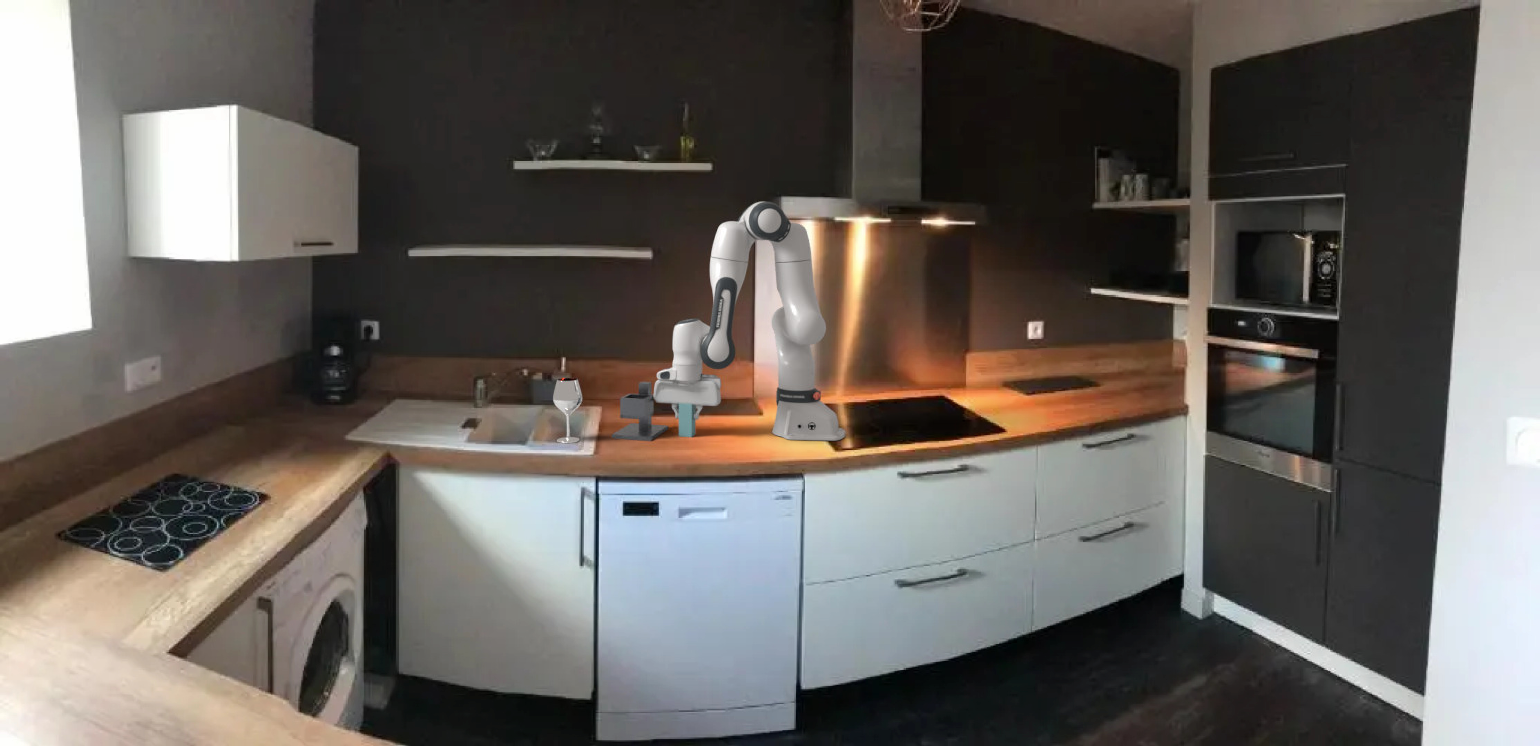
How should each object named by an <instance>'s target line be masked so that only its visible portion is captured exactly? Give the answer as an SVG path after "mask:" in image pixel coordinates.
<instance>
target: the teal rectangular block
mask: <svg viewBox="0 0 1540 746" xmlns="http://www.w3.org/2000/svg"><path fill="white" fill-rule="evenodd" d="M678 410H679V418H678V437H683V438H693V437H694V436H695V435H696V420H695V419H693V413H696V410H697V408H696V405H692V404H678Z"/></svg>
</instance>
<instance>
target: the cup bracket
mask: <svg viewBox="0 0 1540 746" xmlns="http://www.w3.org/2000/svg"><path fill="white" fill-rule="evenodd" d="M619 401H620V402H619V405H620V406H619V408H620V409H619V410H620V411H619V412H620V413H619V414H620V416H619V417H620V418H619V419H626V420H627V419H630V420H631V419H632V420H638V423H635V422H634V423H633V422H631V423H629V424H627V425H626V426H624V427H622V428H621V429H619V430H617V431H615V432H614V433H612V434H611V439H613V440H614V439H617V440H628V441H629V440H630V441H631V440H632V441H645V442H651V441H653V440H654V439H656V438H658V437H659V436H661V435H662V434H663V433H665V432H667V431H668V430H669V425H665V424H664V425H662V424H652V419H653V418H652V416H654V410H655V409H654V405H655V404H654V401H655V400H654V394H652V382H651V381H650V382H649V381H641V382H639V383H638V393H628V394H626V395H624V396H622V397H619Z"/></svg>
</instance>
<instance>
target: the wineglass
mask: <svg viewBox="0 0 1540 746" xmlns="http://www.w3.org/2000/svg"><path fill="white" fill-rule="evenodd" d="M555 383H556V384H555V386H554V390H553V397H552V400H553V404H554V405H555V406H556V408H557V409H559V411H561V413H563V414H564V415H565V416H566V436H565V437H560V438H557V440H556V441H557V442H558V443H562V444H573V443H577V442H580V438H579V437H576V436H575V437H574V436H571V431H570V425H571V424H570V423H571V422H570V421H571V420H570V419H571V418H570V417H571V415H572V414H573V413H574V411H576V410H577V409H578V408H579V407H580V405H581V404H582V402H583V394H582V390H581V387H580V383H579V379H578V378H575V377H562V378H557V379H556V382H555Z"/></svg>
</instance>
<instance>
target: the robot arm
mask: <svg viewBox="0 0 1540 746" xmlns="http://www.w3.org/2000/svg"><path fill="white" fill-rule="evenodd" d="M808 235H809V234H808V231H807V229H806V227H805V226H803V225H802V224H800V223H797V222H790V220H789V218H788V216H786V213H785V212H784V211H783V209H782V208H781V207H780V206H779V205H778V204H776V203H774V202H772V201H758V202H755V203H753V204H750V205H749V206H748V207H746V208H745V209H744V210H743V212H742V213H741V215H740V216H739V218H738V219H736V221H735V220H732V221H731V220H729V221H725V222H722V223H721V224H720V225H719V226H718V228H717V231H716V233H715V236H714V240H713V243H712V246H711V247H712V248H711V254H710V261H709V279H710V286H711V290H712V297H713V298H712V299H713V301H712V302H713V303H712V310H711V319H710V325H708V324H707V323H704V322H702V321H701V320H700V319H699V318H688V319H683V320H680V321H679V322H677V323H676V324H675V325H674V327H673V331H672V351H673V360H672V364H671V365H672V367H667V368H663V369H661V370H660V371H657V373H656V378H657V380H656V381H655V382H654V386H653V387H654V388H653V397H654V401H655V403H656V404H657V403H658V404H659V403H660V404H671V408H672V411H674V413H675V414H674V416H675V419H679V404H692V405H696V411H695V413H693V419H695V421H697V420H699V419H700V413H701V411H702V409H703V407H704V406H706V407H707V406H708V407H709V406H710V407H717V406H718V405H719V404H721V402H722V401H721V400H722V397H721V395H722V394H721V387H722V379H721V378H720V377H719V376H717V374H706V373H703V363H704V364H705V365H706V366H707V367H708V368H710V369H711V370H712V369H713V370H723V369H726V368H727V367H729V366H730V365H731V364H733V361H734V360H735V358H736V347H735V343H734V341H733V335H732V334H733V323H734V316H735V310H736V309H735V308H736V303H737V301H738V300H737V299H738V297H739V294H740V291H741V289H742V286H743V284H744V282H745V278H746V273H747V270H748V264H749V255H750V251H751V247H752V245H754V243H755V242H756V241H769V242H770V244H771V246H772V248H773V252H774V267H775V268H774V269H775V270H774V271H775V284H776V291H777V292H778V294H779V296H780V298H781V303H782V306H781V307H780V308H778V309H776V311H774V312H773V314H772V316H771V327H772V329H773V331H774V332H773V333H774V339H775V347H776V353H777V358H778V379H777V380H778V387H776V391H775V392H776V393H775V394H776V395H775V402H776V414H775V419H774V424H773V427H772V430H771V433H772V434H773V435H775V436H777V437H778V436H779V437H782V438H784V439H785V440H790V441H791V440H792V441H830V442H831V441H833V442H834V441H840V440H842V439H844V438H845V436H846V430H845V429H844V428H841V427H839V425H840V424H839V420H838V415H837V413H836V412H834V411H833V410H832V408H830V407H828V405H826V404H825V403H824V402H822V401H821V397H822V394H821V392H822V390H821V389H819V390H818V389H817V388H816V387H815V381H816V380H815V378H816V377H815V375H816V373H815V372H816V370H815V369H816V364H815V362H816V361H815V359H814V357H813V354H812V348H811V345H815V344H817V343H819V342H820V341H821V340H822V339H823V338H824V337H825V334H826V331H827V325H826V321H825V319H824V318H823V315H822V313H821V309H820V306H819V305H820V304H819V301H818V298H817V294H816V290H815V285H814V284H815V283H814V274H813V273H814V272H813V262H812V261H813V259H812V250H811V243H810V238H809V236H808Z"/></svg>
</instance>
